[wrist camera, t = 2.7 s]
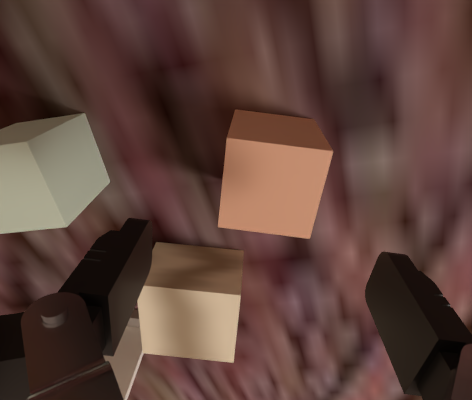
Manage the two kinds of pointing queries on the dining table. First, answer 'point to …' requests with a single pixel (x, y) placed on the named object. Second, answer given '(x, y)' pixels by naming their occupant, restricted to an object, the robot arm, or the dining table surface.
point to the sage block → (48, 173)
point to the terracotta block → (273, 174)
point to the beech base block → (191, 302)
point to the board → (127, 355)
